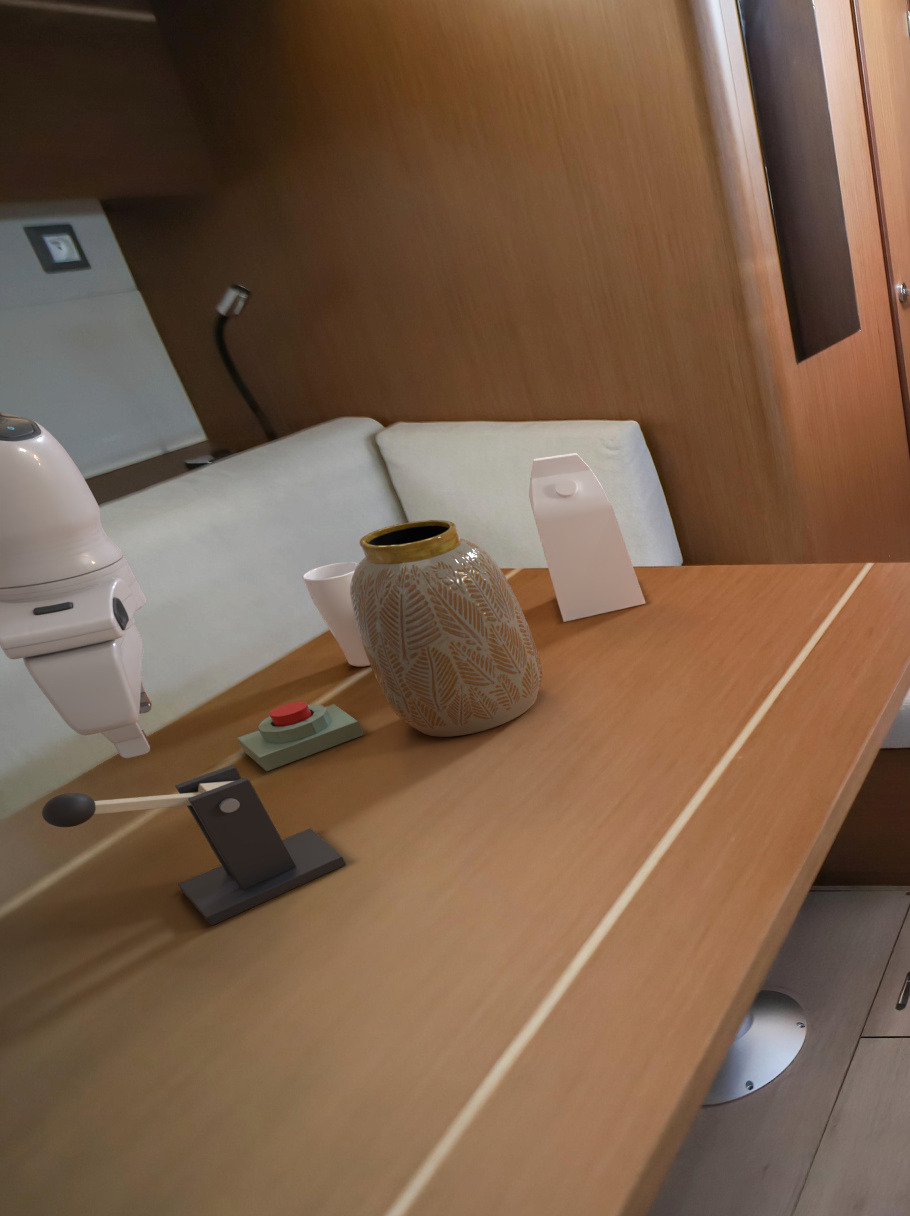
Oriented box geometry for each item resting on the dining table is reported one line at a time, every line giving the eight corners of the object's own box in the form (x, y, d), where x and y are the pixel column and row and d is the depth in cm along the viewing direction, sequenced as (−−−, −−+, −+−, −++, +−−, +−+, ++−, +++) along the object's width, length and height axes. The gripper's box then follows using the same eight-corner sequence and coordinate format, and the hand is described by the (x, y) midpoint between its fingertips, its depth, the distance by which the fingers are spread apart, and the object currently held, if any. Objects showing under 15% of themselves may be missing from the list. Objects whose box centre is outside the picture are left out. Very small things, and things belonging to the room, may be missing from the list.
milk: (634, 581, 173) (593, 442, 162) (645, 603, 165) (603, 459, 154) (556, 598, 167) (507, 454, 155) (563, 621, 159) (513, 472, 147)
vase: (570, 674, 143) (513, 505, 131) (524, 736, 128) (455, 552, 117) (437, 687, 139) (365, 514, 127) (373, 753, 124) (285, 564, 112)
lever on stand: (211, 926, 97) (150, 826, 91) (182, 892, 101) (122, 795, 96) (346, 864, 106) (298, 769, 100) (314, 835, 110) (266, 743, 104)
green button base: (266, 771, 120) (252, 745, 119) (244, 751, 124) (230, 726, 122) (364, 734, 128) (352, 709, 126) (340, 717, 132) (328, 692, 130)
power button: (280, 730, 122) (275, 719, 122) (270, 722, 124) (264, 711, 123) (316, 718, 125) (311, 706, 124) (306, 710, 127) (300, 698, 126)
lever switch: (44, 834, 88) (49, 801, 87) (35, 822, 89) (40, 790, 89) (242, 814, 99) (247, 785, 99) (231, 804, 101) (236, 775, 100)
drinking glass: (397, 663, 145) (358, 574, 139) (339, 674, 142) (296, 583, 135) (403, 645, 150) (366, 558, 144) (347, 655, 147) (306, 567, 140)
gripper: (21, 571, 88) (94, 699, 94) (-5, 650, 75) (81, 793, 81) (122, 554, 92) (186, 678, 98) (113, 627, 79) (187, 764, 85)
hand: (138, 731), depth 89 cm, fingers open, 8 cm apart
